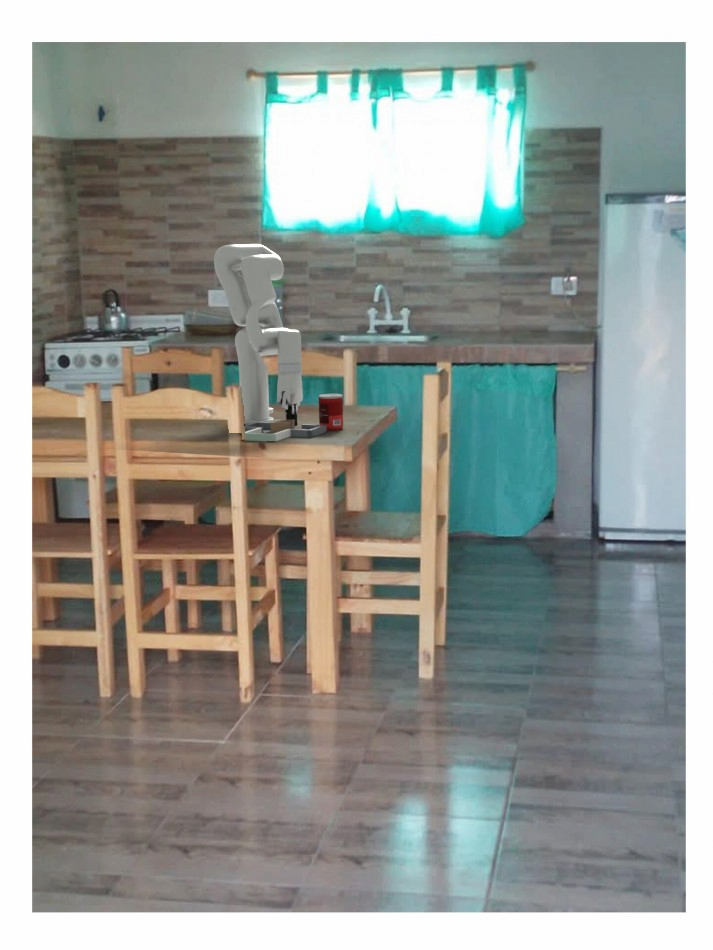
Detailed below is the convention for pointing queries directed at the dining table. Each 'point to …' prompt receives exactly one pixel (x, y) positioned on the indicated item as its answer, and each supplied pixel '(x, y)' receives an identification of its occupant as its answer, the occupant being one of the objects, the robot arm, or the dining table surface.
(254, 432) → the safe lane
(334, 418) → the canned food
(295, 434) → the tray
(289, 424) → the walnut block
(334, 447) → the dining table surface
